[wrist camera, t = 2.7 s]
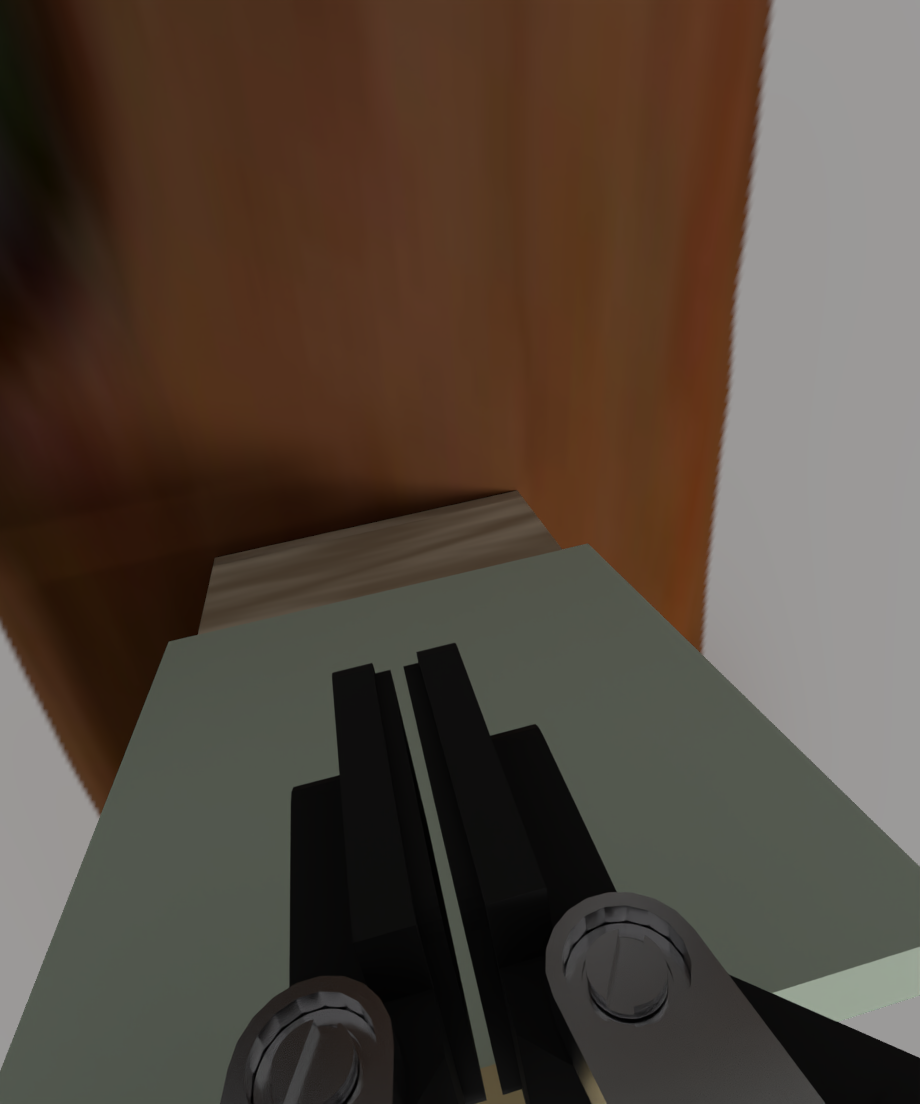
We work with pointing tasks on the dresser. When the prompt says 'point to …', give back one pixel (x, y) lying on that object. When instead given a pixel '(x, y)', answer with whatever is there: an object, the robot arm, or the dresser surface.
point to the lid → (506, 704)
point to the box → (371, 559)
